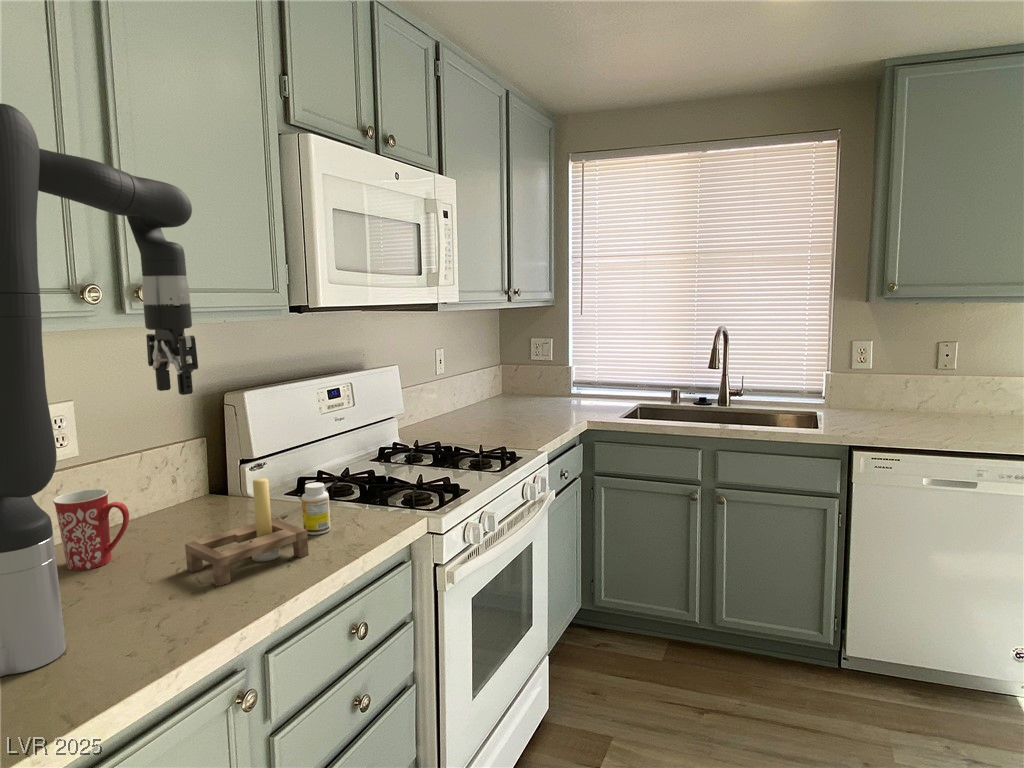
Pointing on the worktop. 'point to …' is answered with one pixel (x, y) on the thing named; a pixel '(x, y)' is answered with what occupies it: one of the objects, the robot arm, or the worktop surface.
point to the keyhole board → (243, 547)
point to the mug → (87, 527)
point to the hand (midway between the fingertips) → (174, 392)
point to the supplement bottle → (316, 509)
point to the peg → (263, 517)
